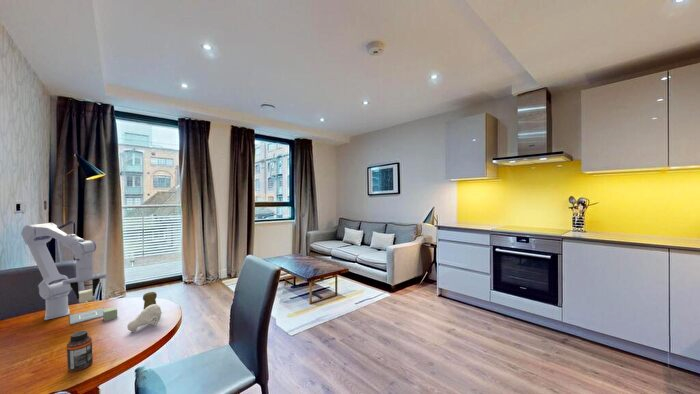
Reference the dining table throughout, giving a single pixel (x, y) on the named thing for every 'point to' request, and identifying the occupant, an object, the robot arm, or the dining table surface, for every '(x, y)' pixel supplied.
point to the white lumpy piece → (146, 317)
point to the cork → (149, 299)
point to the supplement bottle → (79, 351)
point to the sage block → (110, 313)
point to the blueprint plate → (86, 316)
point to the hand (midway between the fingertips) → (85, 296)
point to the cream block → (85, 295)
